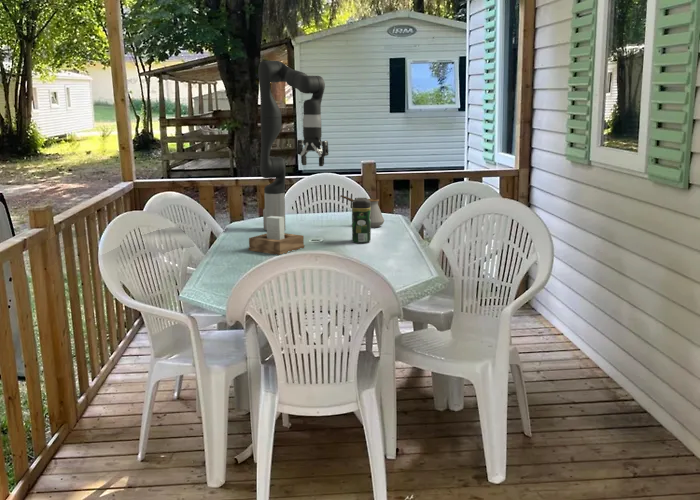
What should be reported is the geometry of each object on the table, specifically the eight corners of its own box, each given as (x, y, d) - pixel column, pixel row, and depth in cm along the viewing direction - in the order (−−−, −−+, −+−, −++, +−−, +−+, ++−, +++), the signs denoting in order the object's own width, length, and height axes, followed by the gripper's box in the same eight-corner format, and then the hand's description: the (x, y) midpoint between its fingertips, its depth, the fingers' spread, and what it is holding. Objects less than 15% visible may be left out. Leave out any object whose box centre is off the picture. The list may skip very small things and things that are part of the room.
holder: (248, 250, 274) (248, 238, 273) (273, 243, 287) (273, 231, 286) (280, 255, 265) (279, 242, 264) (304, 247, 279) (304, 235, 278)
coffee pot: (383, 224, 331) (383, 193, 327) (385, 228, 320) (385, 196, 316) (339, 224, 330) (339, 193, 327) (339, 228, 319) (339, 196, 316)
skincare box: (284, 245, 277) (284, 216, 275) (280, 247, 273) (279, 218, 271) (271, 244, 279) (271, 215, 277) (266, 246, 276) (265, 217, 273)
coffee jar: (352, 239, 296) (352, 196, 292) (371, 239, 295) (371, 196, 291) (351, 243, 286) (351, 199, 282) (370, 244, 286) (370, 199, 282)
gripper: (292, 125, 281) (293, 165, 284) (321, 126, 273) (321, 167, 277) (303, 125, 287) (304, 164, 290) (331, 126, 280) (332, 165, 283)
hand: (312, 165), depth 284 cm, fingers open, 8 cm apart
